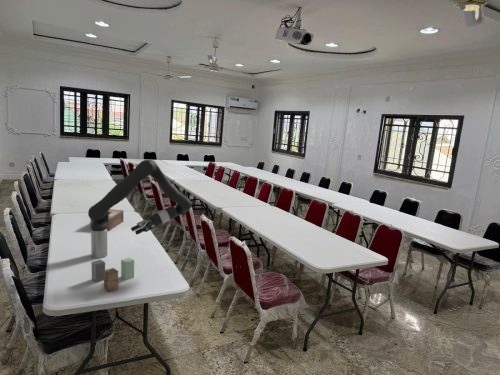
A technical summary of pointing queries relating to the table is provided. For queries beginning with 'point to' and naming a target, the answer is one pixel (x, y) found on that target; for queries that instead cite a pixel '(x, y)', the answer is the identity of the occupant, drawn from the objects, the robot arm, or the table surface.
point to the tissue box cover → (113, 218)
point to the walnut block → (111, 280)
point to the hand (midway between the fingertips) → (133, 231)
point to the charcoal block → (98, 270)
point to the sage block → (127, 268)
